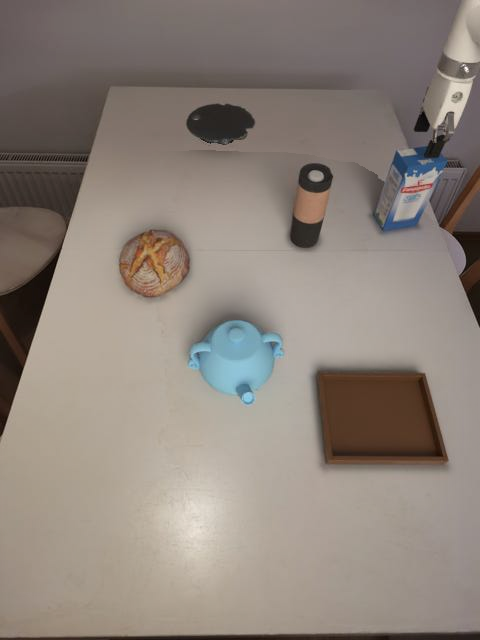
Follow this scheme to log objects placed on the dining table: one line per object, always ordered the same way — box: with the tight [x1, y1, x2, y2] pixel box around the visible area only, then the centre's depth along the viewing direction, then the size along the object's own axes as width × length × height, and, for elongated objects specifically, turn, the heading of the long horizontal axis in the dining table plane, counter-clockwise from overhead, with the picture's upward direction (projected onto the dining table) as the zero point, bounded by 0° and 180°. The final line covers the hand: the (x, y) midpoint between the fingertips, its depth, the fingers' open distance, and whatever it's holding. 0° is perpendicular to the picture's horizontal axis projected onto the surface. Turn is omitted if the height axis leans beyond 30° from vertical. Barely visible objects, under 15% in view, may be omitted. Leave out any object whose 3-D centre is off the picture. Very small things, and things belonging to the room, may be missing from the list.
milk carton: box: [372, 145, 448, 232], centre depth 107 cm, size 10×6×20 cm, turn 104°
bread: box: [118, 229, 190, 298], centre depth 101 cm, size 16×20×10 cm
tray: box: [316, 371, 449, 466], centre depth 83 cm, size 22×18×3 cm
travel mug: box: [290, 162, 334, 249], centre depth 103 cm, size 8×8×20 cm
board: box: [185, 102, 256, 145], centre depth 135 cm, size 22×22×5 cm
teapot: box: [187, 319, 285, 407], centre depth 83 cm, size 20×20×13 cm
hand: (425, 143), depth 97 cm, fingers open, 9 cm apart
